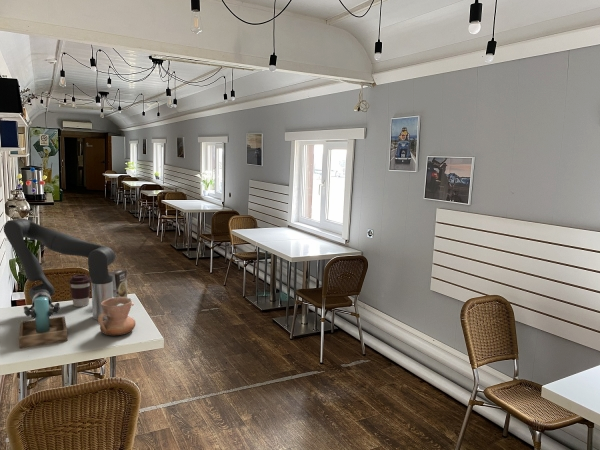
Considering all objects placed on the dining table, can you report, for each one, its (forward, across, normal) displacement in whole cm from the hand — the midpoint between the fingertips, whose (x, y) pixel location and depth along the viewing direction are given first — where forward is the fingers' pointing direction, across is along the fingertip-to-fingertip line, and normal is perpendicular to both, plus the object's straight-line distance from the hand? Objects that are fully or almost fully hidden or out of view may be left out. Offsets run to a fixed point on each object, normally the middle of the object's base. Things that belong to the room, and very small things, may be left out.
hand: (42, 315), depth 193 cm
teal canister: (-3, 0, +8) cm, 8 cm away
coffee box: (-36, +34, +11) cm, 51 cm away
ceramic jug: (+6, +28, +10) cm, 30 cm away
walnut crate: (-2, 0, +10) cm, 10 cm away
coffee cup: (-38, +17, +11) cm, 43 cm away
